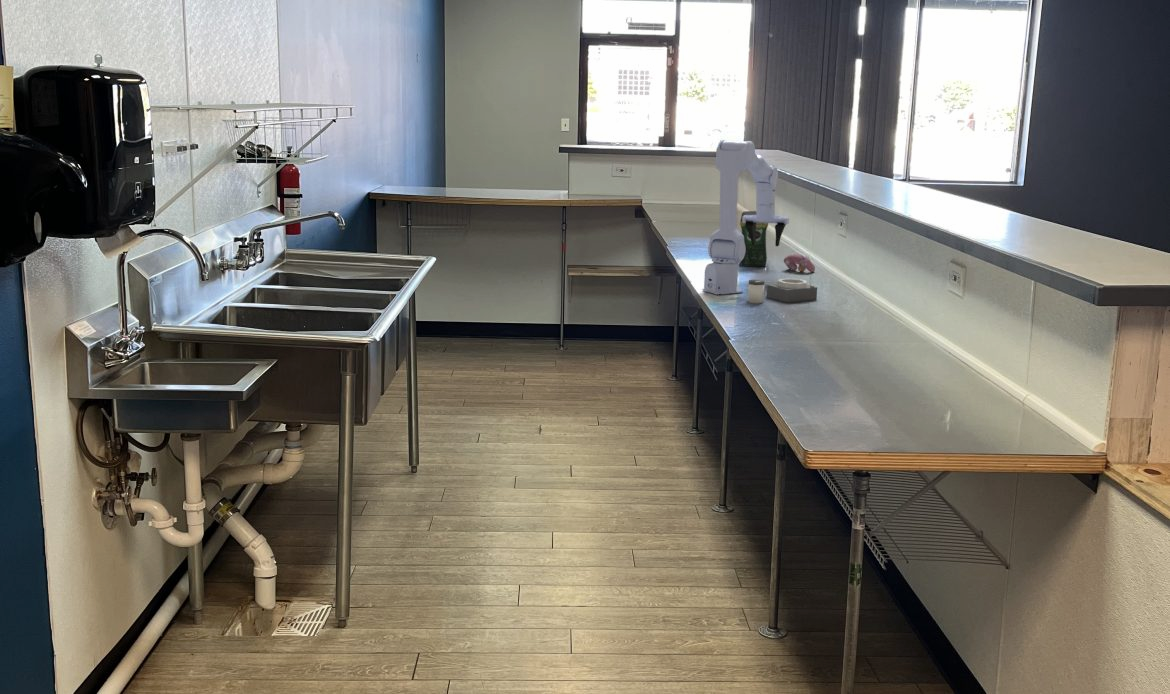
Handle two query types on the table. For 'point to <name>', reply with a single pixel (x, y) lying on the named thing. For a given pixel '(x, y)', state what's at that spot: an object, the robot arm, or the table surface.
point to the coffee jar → (757, 252)
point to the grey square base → (792, 290)
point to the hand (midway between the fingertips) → (765, 244)
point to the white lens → (756, 291)
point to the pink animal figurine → (801, 260)
